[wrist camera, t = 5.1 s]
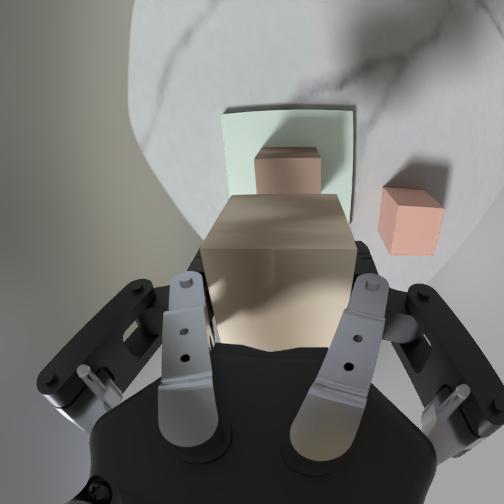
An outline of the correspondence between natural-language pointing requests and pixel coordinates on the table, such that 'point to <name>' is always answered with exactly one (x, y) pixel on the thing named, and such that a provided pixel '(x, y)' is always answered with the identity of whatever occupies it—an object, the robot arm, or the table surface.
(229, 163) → the build plate
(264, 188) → the cube walnut
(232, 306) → the cube maple
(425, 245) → the cube terracotta
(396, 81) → the table surface
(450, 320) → the robot arm
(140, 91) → the table surface
